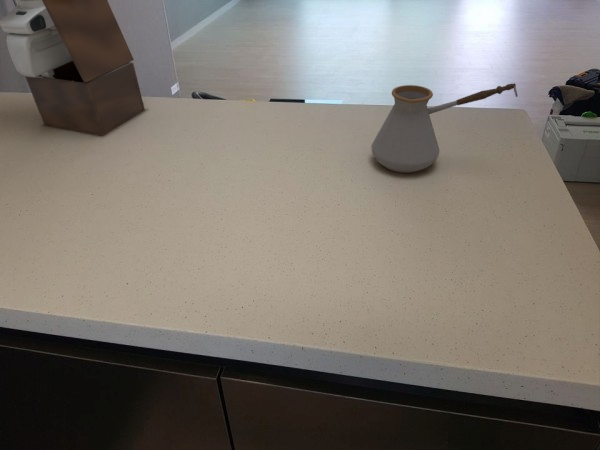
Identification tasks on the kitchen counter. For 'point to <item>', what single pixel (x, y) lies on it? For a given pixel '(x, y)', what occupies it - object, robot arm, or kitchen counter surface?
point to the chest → (87, 99)
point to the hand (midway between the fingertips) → (74, 83)
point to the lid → (90, 35)
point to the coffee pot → (415, 128)
